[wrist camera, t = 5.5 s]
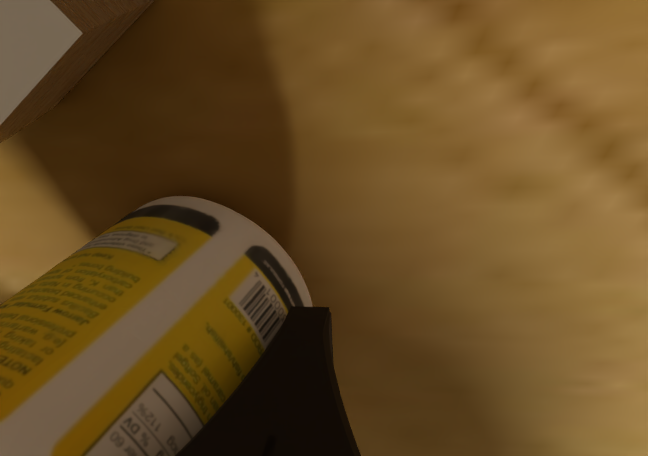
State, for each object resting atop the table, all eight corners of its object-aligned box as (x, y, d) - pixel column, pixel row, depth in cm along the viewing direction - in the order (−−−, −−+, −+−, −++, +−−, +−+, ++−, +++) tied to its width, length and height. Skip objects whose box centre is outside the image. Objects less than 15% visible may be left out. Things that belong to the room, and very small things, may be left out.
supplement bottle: (103, 290, 14) (-343, 650, 8) (162, 142, 12) (-462, 507, 5) (264, 413, 14) (-51, 892, 8) (364, 293, 11) (1, 890, 5)
